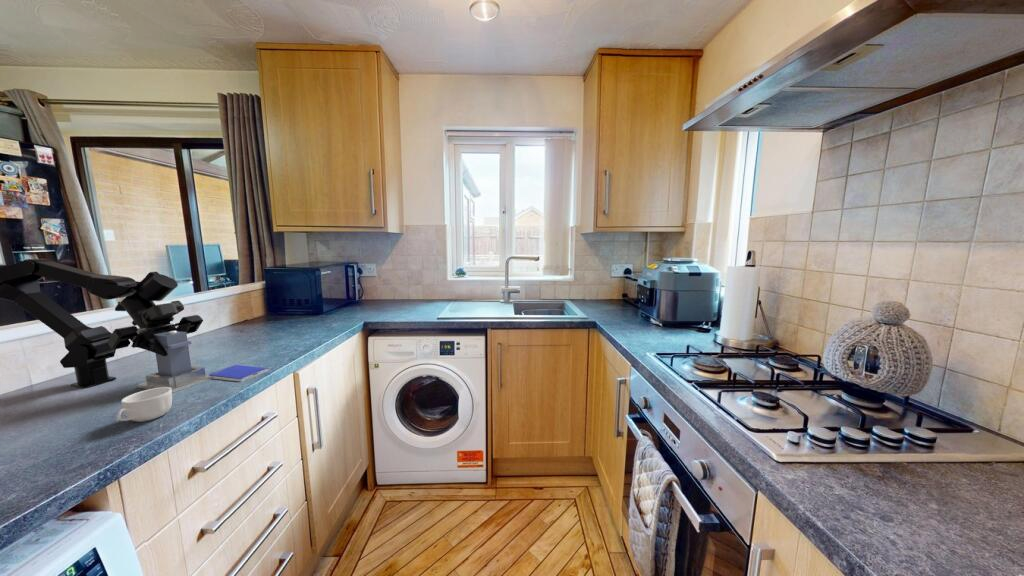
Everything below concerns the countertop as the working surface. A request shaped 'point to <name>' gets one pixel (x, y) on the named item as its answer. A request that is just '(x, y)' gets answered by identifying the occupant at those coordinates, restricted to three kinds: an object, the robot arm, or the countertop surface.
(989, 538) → the countertop surface
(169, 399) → the teacup
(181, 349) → the block
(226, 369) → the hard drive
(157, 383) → the chassis
